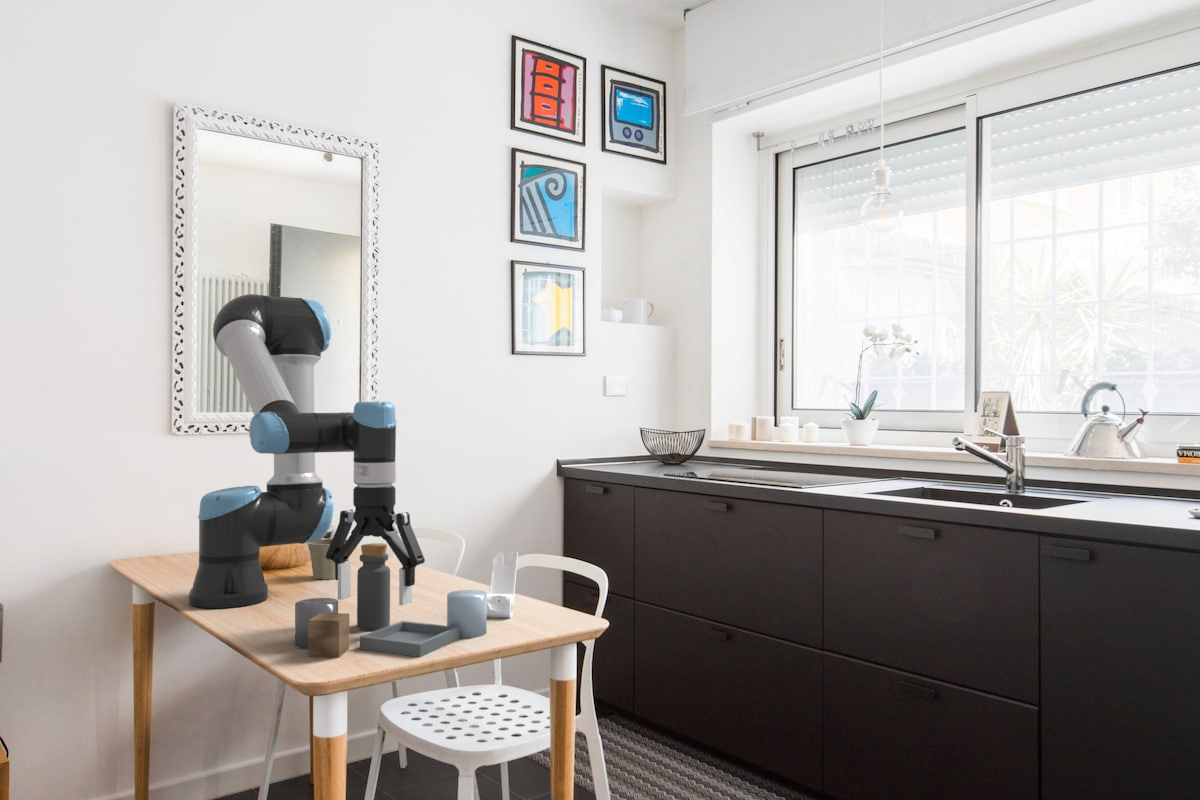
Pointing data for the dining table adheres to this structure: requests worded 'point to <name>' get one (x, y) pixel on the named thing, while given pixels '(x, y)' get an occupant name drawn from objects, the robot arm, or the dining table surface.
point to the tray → (410, 638)
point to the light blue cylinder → (467, 612)
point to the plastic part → (502, 586)
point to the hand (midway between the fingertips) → (374, 601)
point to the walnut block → (328, 635)
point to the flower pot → (321, 559)
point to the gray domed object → (310, 616)
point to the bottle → (373, 588)
